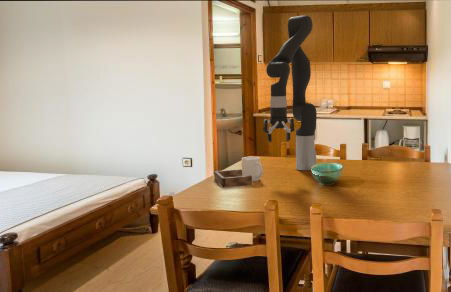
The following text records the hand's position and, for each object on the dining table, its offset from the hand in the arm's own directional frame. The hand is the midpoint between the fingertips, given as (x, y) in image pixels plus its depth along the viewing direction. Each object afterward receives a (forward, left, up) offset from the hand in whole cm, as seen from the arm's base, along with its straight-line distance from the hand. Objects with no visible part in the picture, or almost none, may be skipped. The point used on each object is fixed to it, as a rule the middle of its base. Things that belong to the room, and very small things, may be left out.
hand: (278, 141), depth 232 cm
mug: (+12, 0, -18) cm, 21 cm away
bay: (+22, 0, -17) cm, 28 cm away
